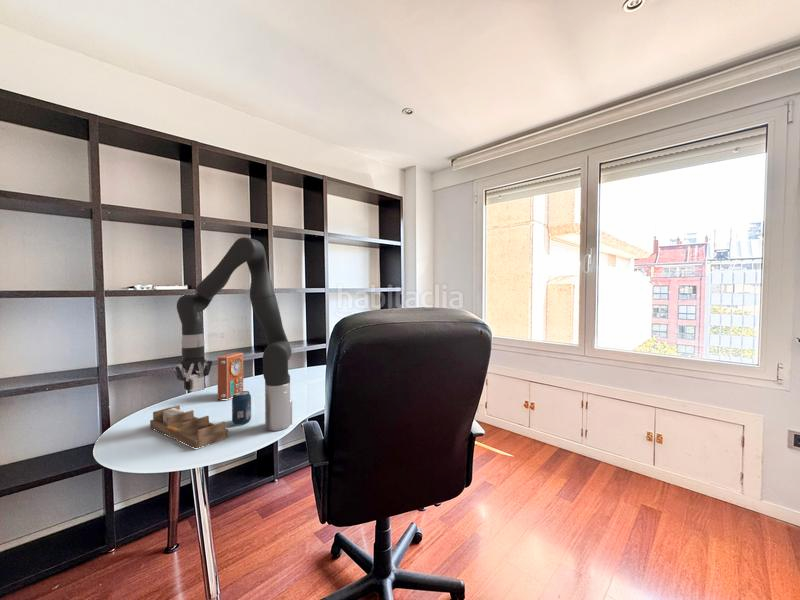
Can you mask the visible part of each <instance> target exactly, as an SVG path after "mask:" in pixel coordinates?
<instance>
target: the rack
mask: <svg viewBox="0 0 800 600" xmlns="http://www.w3.org/2000/svg"><path fill="white" fill-rule="evenodd" d="M194 413H195V412H194V410H192V409H191V410H188V411H184V410H181V407H180V405H173V406H171V407H166V408H162V409H159V410H155V411H153V412H152V419H149V428H150V429H151V428H152V429H151V430H153V429H155V430H157V431H159V432H161V433H160V434H162V433H163V434H162V435H164V434H166V435H168V436H170V437H172V438H175V439H177V440H178V441H181V442H183V443H185V444H187V445H189V446H191V447H194V448H199V447H202V446H205V447H207V446H206V445H208V444H210V445H212V443H213V444H215V443H214V442H216V443H218V442H220V440H221V441H222V439H223V440H226V439H228V438H229V429H228V428H226V422H225V421H221V422H218V423H213V422H209V419H210V418H209V417H210V416H209V415H205V416H202V417H196V416H194V415H195V414H194ZM155 430H154V431H155ZM157 431H156V432H157ZM159 432H158V433H159ZM166 435H165V436H166ZM168 436H167V437H168ZM170 437H169V438H170ZM227 437H228V438H227ZM172 438H171V439H172ZM225 438H226V439H225ZM178 441H177V442H178ZM217 441H218V442H217ZM185 444H184V445H185ZM187 445H186V446H187ZM189 446H188V447H189ZM208 446H209V445H208ZM191 447H190V448H191Z"/></svg>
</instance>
